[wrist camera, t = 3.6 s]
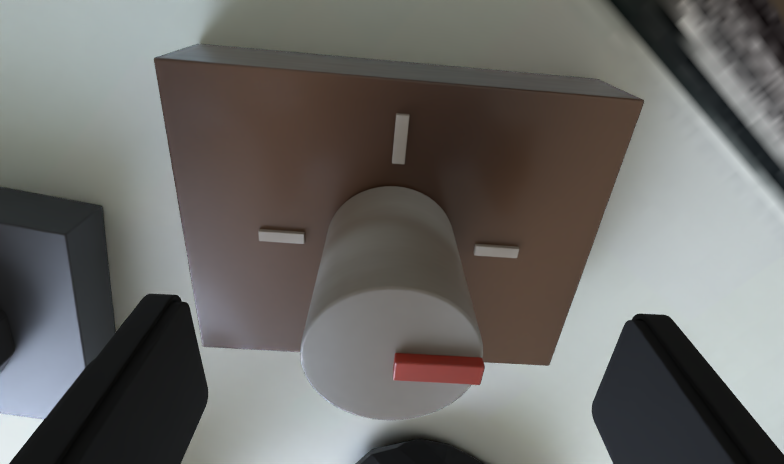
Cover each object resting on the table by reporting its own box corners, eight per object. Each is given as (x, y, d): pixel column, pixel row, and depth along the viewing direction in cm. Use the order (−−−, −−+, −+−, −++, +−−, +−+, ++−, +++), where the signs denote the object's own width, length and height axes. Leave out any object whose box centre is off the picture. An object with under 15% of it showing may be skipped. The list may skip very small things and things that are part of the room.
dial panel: (227, 296, 19) (200, 350, 16) (196, 43, 14) (149, 57, 11) (527, 314, 19) (550, 369, 17) (598, 78, 15) (648, 101, 12)
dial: (326, 289, 15) (298, 428, 10) (327, 180, 13) (295, 290, 8) (443, 297, 15) (468, 436, 10) (463, 190, 13) (504, 303, 8)
